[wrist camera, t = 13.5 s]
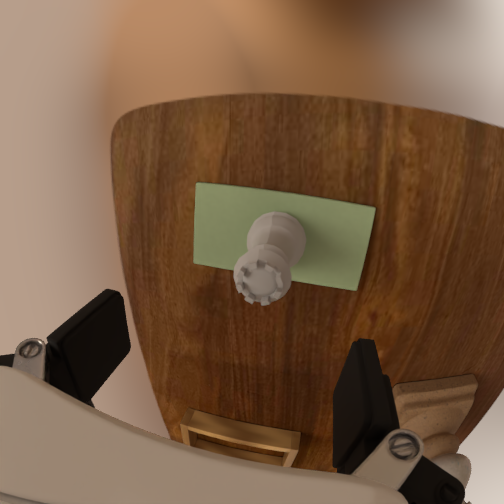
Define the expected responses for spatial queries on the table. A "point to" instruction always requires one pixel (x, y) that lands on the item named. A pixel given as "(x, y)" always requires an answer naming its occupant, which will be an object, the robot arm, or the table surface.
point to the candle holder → (438, 418)
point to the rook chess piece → (269, 257)
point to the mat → (298, 206)
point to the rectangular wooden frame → (239, 438)
